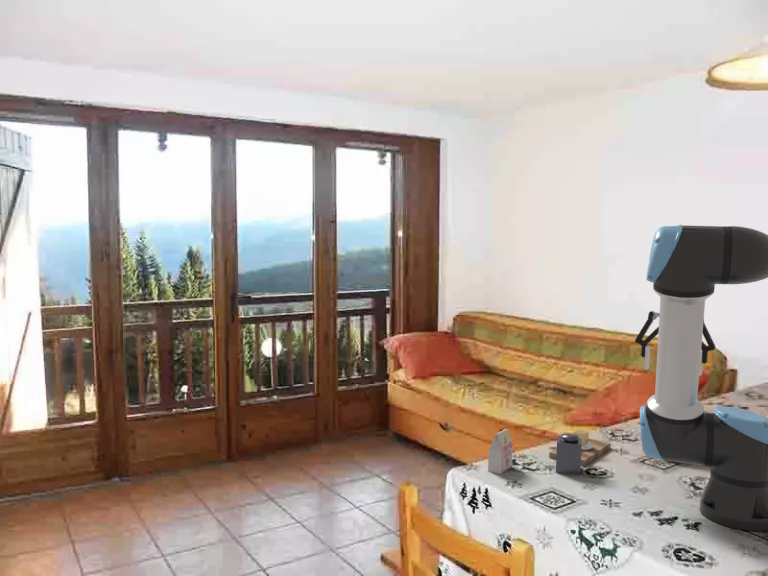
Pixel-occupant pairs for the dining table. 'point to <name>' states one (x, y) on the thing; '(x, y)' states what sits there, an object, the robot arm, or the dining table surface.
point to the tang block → (587, 448)
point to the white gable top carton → (500, 453)
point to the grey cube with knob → (568, 454)
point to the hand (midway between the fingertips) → (672, 372)
